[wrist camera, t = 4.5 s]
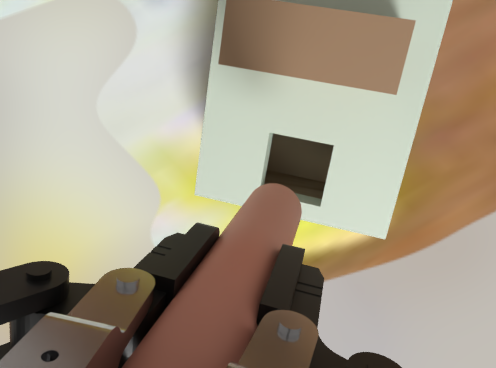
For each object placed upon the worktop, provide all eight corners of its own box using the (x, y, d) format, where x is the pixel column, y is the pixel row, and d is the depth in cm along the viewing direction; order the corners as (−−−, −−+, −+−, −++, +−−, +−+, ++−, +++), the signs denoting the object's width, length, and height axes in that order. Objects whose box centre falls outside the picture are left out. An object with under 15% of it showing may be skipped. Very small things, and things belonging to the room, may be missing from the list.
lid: (231, -42, 24) (190, -76, 18) (451, -14, 22) (489, -43, 16) (202, 188, 28) (161, 222, 22) (383, 230, 26) (392, 280, 20)
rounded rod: (250, 178, 18) (85, 373, 7) (306, 189, 18) (225, 417, 6) (243, 229, 19) (83, 480, 8) (296, 240, 18) (209, 525, 7)
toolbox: (254, -22, 30) (231, -42, 24) (431, 2, 28) (451, -14, 22) (227, 167, 34) (202, 188, 28) (378, 200, 32) (383, 230, 26)
